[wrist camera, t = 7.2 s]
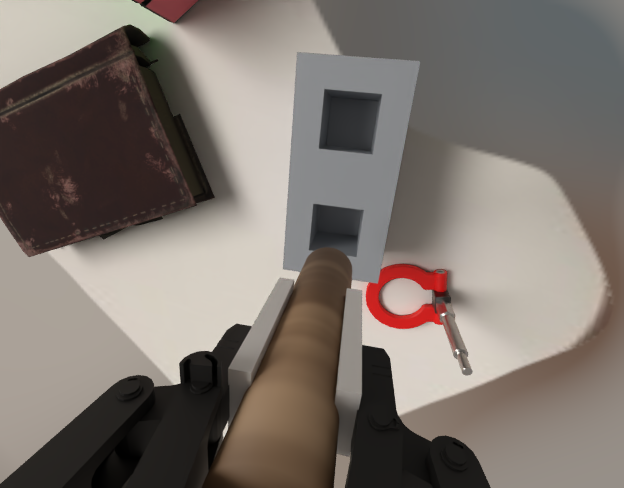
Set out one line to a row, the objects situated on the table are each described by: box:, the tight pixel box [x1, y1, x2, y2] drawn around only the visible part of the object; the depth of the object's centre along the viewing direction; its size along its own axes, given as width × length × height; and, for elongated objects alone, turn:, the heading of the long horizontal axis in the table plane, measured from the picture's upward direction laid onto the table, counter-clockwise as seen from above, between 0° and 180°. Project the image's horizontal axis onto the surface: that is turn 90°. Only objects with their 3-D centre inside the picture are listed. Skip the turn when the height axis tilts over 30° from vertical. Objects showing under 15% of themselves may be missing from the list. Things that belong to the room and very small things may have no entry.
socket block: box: [283, 52, 420, 284], centre depth 30 cm, size 18×9×8 cm, turn 175°
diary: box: [0, 25, 215, 257], centre depth 35 cm, size 19×25×5 cm
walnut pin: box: [202, 247, 352, 488], centre depth 14 cm, size 3×3×14 cm
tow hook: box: [366, 264, 472, 375], centre depth 32 cm, size 8×13×9 cm
